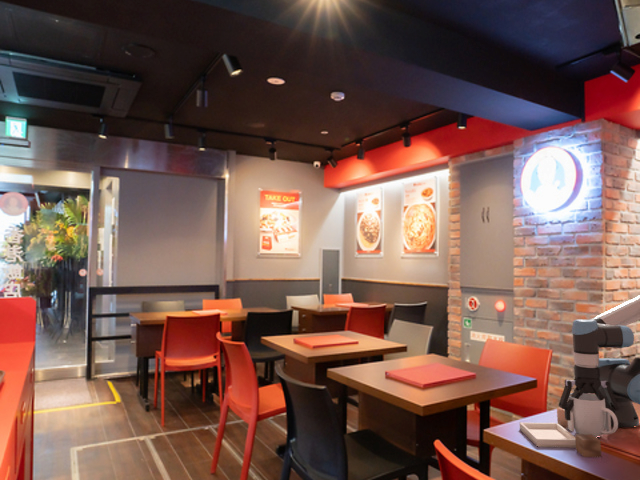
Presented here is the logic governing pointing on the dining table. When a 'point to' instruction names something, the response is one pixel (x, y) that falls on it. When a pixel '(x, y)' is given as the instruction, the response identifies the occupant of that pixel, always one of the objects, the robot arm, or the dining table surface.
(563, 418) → the brown short cylinder
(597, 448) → the walnut block
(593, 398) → the mug
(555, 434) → the tray
